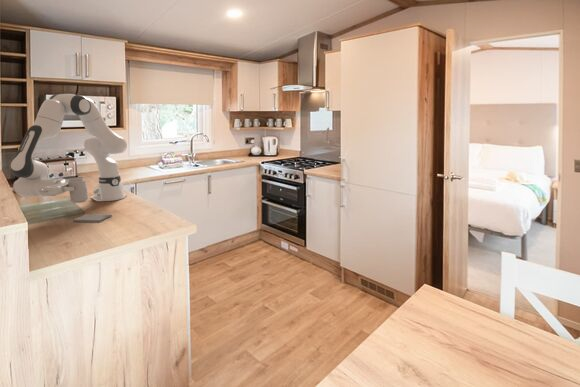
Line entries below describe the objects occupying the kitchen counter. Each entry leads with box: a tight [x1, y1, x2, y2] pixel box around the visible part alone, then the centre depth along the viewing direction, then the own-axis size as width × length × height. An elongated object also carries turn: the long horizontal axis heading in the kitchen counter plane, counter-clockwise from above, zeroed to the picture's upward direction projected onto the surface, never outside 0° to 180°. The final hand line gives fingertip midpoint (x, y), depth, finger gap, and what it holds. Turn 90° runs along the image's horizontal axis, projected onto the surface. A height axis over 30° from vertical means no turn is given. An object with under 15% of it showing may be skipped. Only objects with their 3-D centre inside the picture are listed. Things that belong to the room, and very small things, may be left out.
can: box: [68, 176, 89, 204], centre depth 177 cm, size 8×8×12 cm
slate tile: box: [72, 213, 113, 223], centre depth 179 cm, size 14×10×1 cm
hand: (79, 186), depth 177 cm, fingers closed on can, 7 cm apart
